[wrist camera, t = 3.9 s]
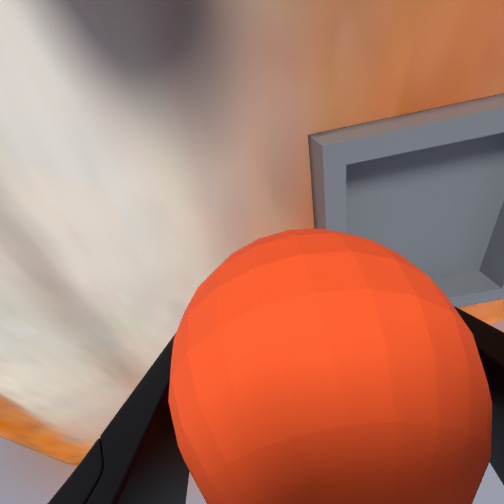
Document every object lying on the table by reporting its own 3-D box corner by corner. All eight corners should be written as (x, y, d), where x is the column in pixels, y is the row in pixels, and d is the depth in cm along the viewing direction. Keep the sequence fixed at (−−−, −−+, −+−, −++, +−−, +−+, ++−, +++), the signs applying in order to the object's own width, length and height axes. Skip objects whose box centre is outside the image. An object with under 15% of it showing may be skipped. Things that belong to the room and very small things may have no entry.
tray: (551, 83, 15) (613, 84, 13) (482, 273, 23) (512, 297, 21) (308, 135, 16) (322, 146, 14) (319, 303, 24) (330, 329, 21)
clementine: (344, 358, 13) (442, 612, 7) (193, 355, 12) (151, 636, 6) (420, 194, 8) (900, 511, 2) (187, 176, 8) (11, 558, 2)
